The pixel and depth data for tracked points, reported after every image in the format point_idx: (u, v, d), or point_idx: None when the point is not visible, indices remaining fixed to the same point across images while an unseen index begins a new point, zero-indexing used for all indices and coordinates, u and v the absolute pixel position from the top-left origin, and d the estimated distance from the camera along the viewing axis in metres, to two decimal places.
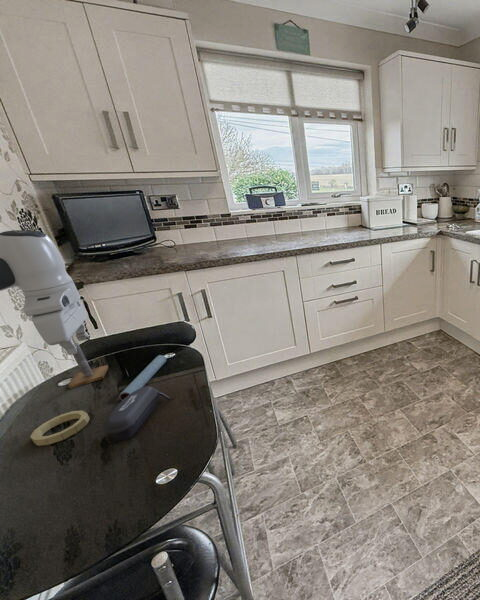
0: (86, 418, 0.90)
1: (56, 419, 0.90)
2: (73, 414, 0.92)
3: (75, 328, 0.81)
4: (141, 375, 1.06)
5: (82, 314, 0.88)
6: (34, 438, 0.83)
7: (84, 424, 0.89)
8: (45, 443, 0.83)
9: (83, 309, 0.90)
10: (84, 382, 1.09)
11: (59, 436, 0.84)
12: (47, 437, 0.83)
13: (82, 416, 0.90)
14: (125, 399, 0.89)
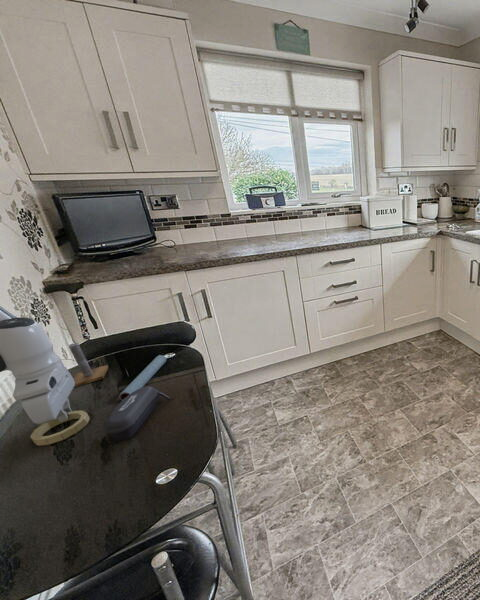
0: (86, 418, 0.90)
1: (56, 419, 0.90)
2: (73, 414, 0.92)
3: (62, 403, 0.88)
4: (141, 375, 1.06)
5: (70, 385, 0.95)
6: (34, 438, 0.83)
7: (84, 424, 0.89)
8: (45, 443, 0.83)
9: (71, 379, 0.97)
10: (84, 382, 1.09)
11: (59, 436, 0.84)
12: (47, 437, 0.83)
13: (82, 416, 0.90)
14: (125, 399, 0.89)
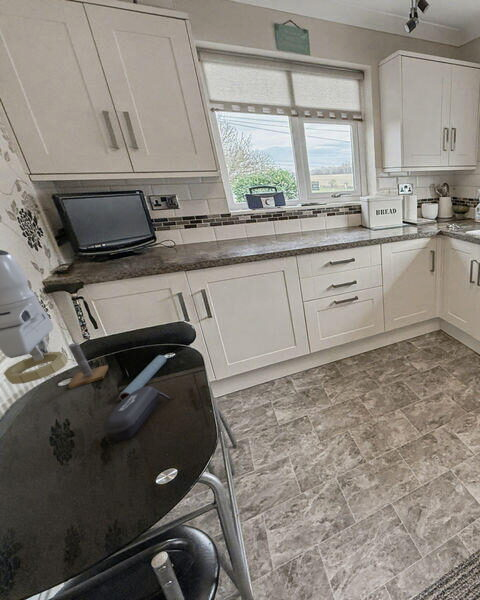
0: (63, 358, 0.88)
1: (32, 359, 0.88)
2: (50, 355, 0.89)
3: (37, 341, 0.86)
4: (141, 375, 1.06)
5: (47, 327, 0.93)
6: (7, 374, 0.81)
7: (60, 364, 0.87)
8: (18, 380, 0.81)
9: (49, 321, 0.94)
10: (84, 382, 1.09)
11: (33, 373, 0.82)
12: (21, 374, 0.81)
13: (58, 356, 0.88)
14: (125, 399, 0.89)
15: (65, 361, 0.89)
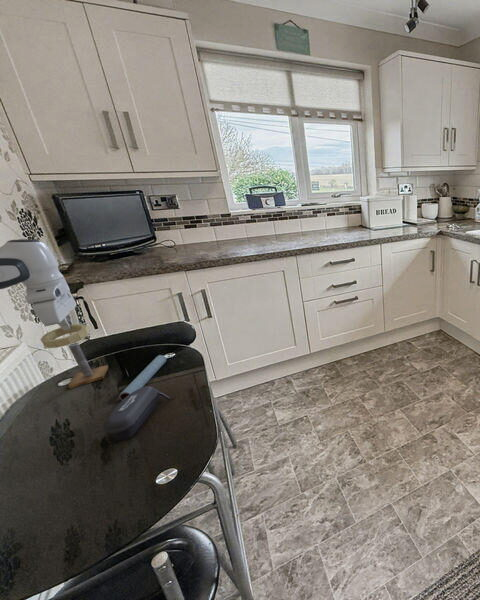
0: (86, 329, 1.08)
1: (61, 329, 1.07)
2: (75, 326, 1.09)
3: (65, 314, 1.05)
4: (141, 375, 1.06)
5: (72, 304, 1.12)
6: (44, 340, 1.01)
7: (85, 333, 1.06)
8: (53, 344, 1.01)
9: (73, 300, 1.14)
10: (84, 382, 1.09)
11: (64, 340, 1.02)
12: (55, 340, 1.01)
13: (83, 327, 1.07)
14: (125, 399, 0.89)
15: (88, 331, 1.08)
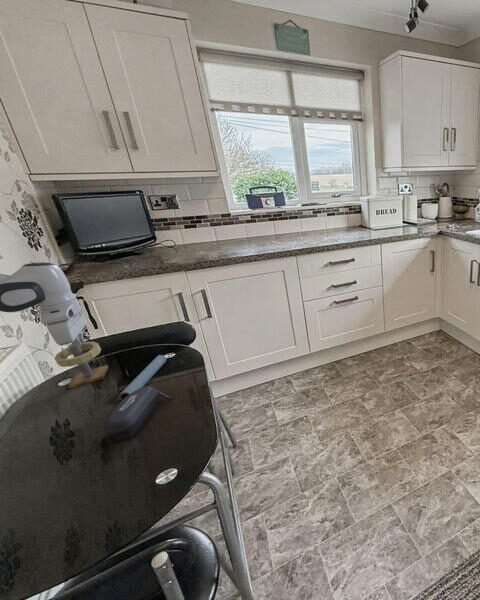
0: (98, 347, 1.12)
1: None
2: (86, 344, 1.13)
3: (78, 332, 1.10)
4: (141, 375, 1.06)
5: (83, 322, 1.17)
6: (58, 359, 1.05)
7: (97, 352, 1.11)
8: (67, 363, 1.05)
9: (83, 318, 1.18)
10: (84, 382, 1.09)
11: (77, 359, 1.06)
12: (68, 359, 1.05)
13: (94, 346, 1.12)
14: (125, 399, 0.89)
15: (99, 349, 1.13)
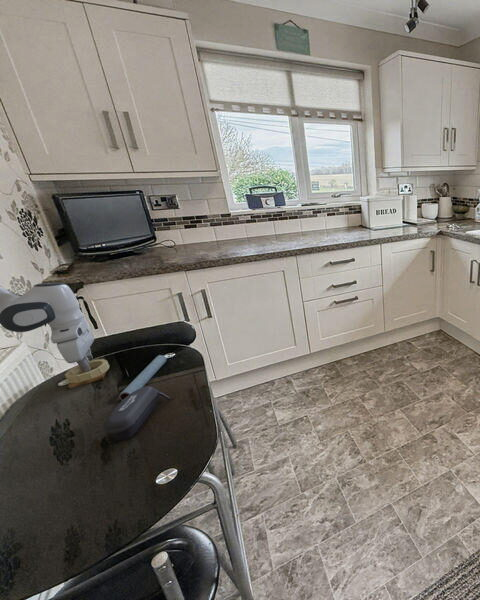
0: (106, 364, 1.15)
1: None
2: (96, 361, 1.17)
3: (86, 350, 1.12)
4: (141, 375, 1.06)
5: (91, 338, 1.19)
6: (68, 376, 1.08)
7: (105, 368, 1.14)
8: (76, 379, 1.08)
9: (91, 334, 1.21)
10: (84, 382, 1.09)
11: (86, 374, 1.09)
12: (78, 375, 1.08)
13: (103, 362, 1.15)
14: (125, 399, 0.89)
15: (108, 366, 1.16)
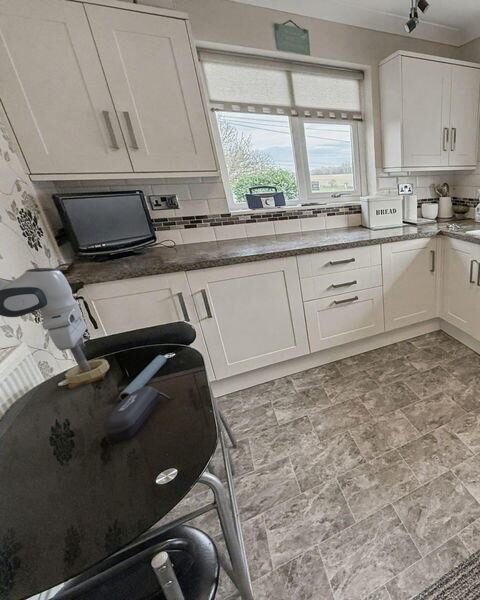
0: (106, 364, 1.15)
1: None
2: (96, 361, 1.17)
3: (78, 338, 1.11)
4: (141, 375, 1.06)
5: (83, 327, 1.17)
6: (68, 376, 1.08)
7: (105, 368, 1.14)
8: (76, 379, 1.08)
9: (84, 323, 1.19)
10: (84, 382, 1.09)
11: (86, 374, 1.09)
12: (78, 375, 1.08)
13: (103, 362, 1.15)
14: (125, 399, 0.89)
15: (108, 366, 1.16)
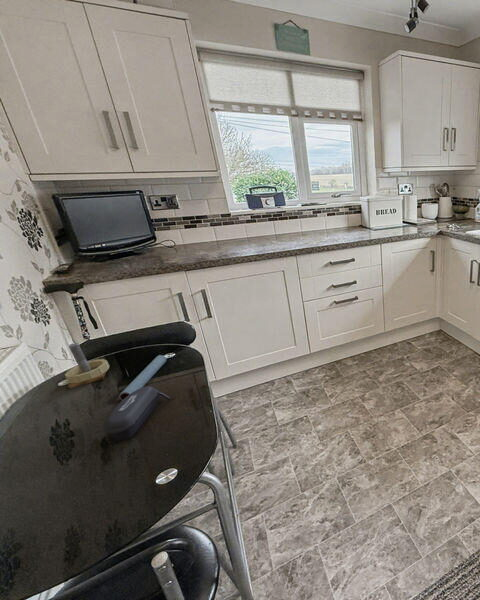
0: (106, 364, 1.15)
1: None
2: (96, 361, 1.17)
3: None
4: (141, 375, 1.06)
5: None
6: (68, 376, 1.08)
7: (105, 368, 1.14)
8: (76, 379, 1.08)
9: None
10: (84, 382, 1.09)
11: (86, 374, 1.09)
12: (78, 375, 1.08)
13: (103, 362, 1.15)
14: (125, 399, 0.89)
15: (108, 366, 1.16)
